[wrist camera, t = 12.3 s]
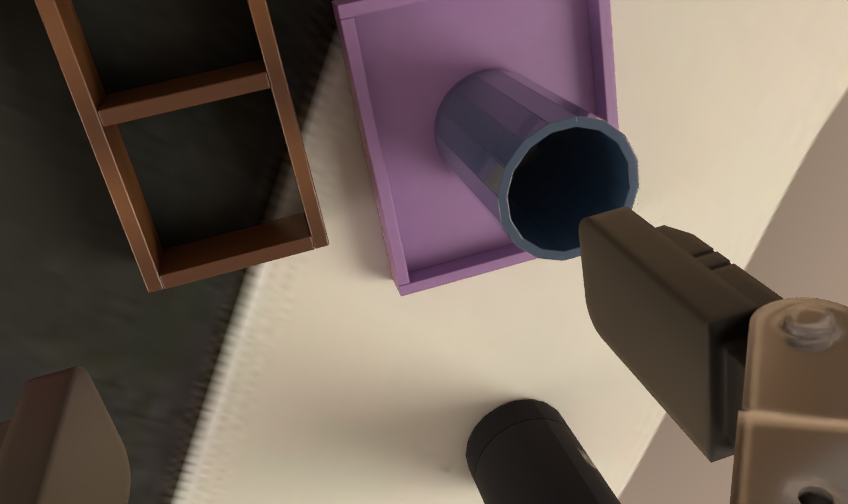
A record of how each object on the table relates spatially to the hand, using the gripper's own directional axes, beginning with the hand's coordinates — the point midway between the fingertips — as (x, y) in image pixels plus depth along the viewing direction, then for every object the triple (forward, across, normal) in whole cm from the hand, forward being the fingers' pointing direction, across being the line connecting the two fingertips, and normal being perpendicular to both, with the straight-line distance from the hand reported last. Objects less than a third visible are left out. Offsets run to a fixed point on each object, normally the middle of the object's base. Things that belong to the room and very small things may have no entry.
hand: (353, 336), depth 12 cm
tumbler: (+24, -10, +6) cm, 26 cm away
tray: (+24, -10, +6) cm, 27 cm away
